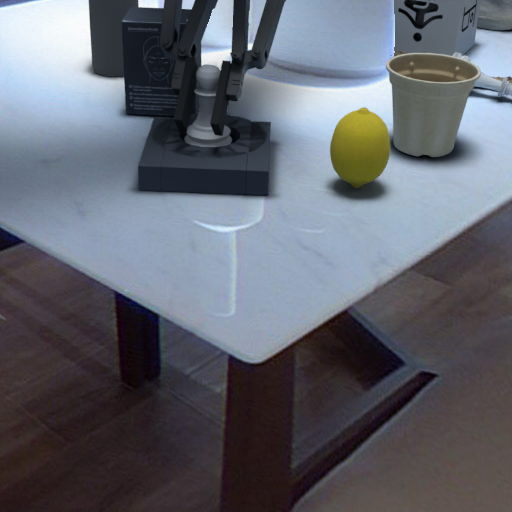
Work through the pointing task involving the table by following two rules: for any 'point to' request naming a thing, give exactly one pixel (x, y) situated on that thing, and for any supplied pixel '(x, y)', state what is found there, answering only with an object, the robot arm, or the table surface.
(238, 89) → the robot arm
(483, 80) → the chess piece
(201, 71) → the chess piece
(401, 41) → the icon cube
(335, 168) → the lemon
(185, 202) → the table surface
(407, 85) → the flower pot
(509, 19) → the sneaker
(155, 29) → the box
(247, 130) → the dark grey holder base
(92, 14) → the bottle
